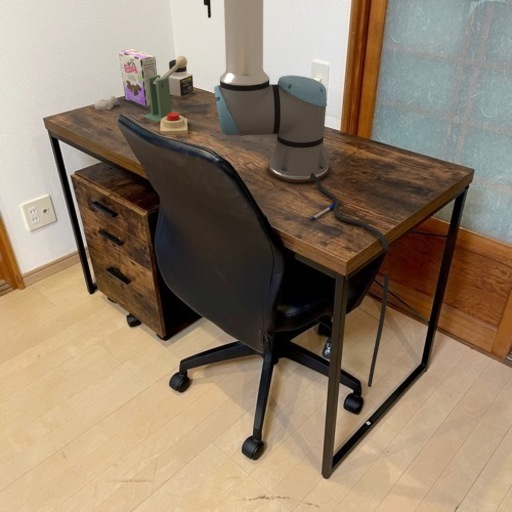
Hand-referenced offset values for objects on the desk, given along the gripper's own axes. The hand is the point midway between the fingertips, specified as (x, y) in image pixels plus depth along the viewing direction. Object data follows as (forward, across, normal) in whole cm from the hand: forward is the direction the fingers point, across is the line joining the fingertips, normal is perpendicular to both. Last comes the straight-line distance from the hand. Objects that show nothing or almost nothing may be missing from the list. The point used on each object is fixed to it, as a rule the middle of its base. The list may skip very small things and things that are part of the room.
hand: (231, 17), depth 162 cm
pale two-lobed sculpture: (+29, +42, +3) cm, 51 cm away
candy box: (+29, +32, -6) cm, 43 cm away
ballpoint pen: (+28, -24, +71) cm, 80 cm away
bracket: (+28, +23, +10) cm, 38 cm away
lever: (+17, +19, +6) cm, 26 cm away
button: (+25, +17, +22) cm, 37 cm away
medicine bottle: (+29, +20, -14) cm, 38 cm away
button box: (+28, +17, +22) cm, 40 cm away
